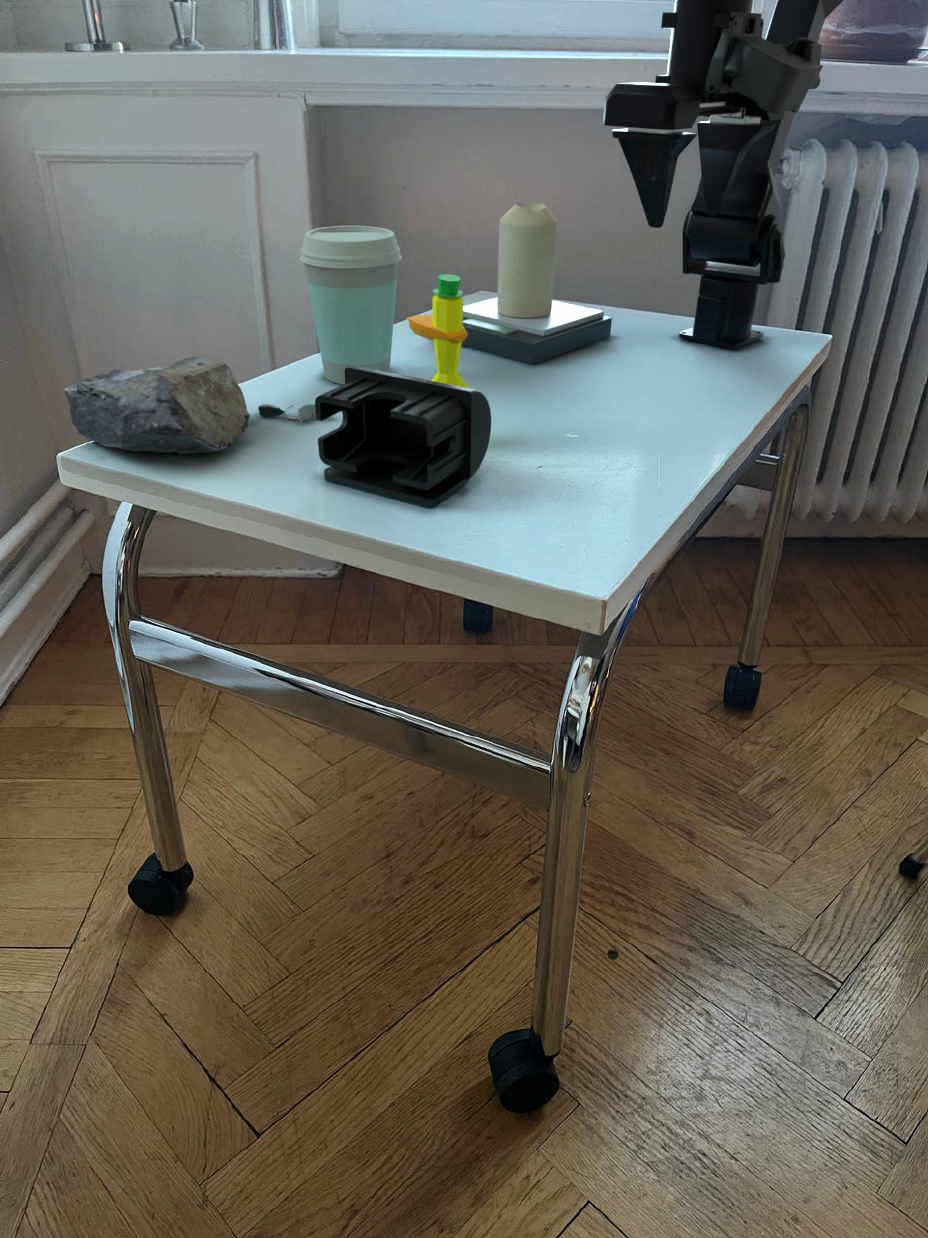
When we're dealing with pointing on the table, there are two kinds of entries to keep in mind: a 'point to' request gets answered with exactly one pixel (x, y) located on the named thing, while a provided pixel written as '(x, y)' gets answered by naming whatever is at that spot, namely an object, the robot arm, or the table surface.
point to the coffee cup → (352, 295)
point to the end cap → (403, 435)
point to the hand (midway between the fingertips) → (684, 220)
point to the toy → (272, 411)
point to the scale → (533, 331)
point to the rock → (161, 407)
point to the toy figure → (444, 329)
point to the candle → (526, 261)
